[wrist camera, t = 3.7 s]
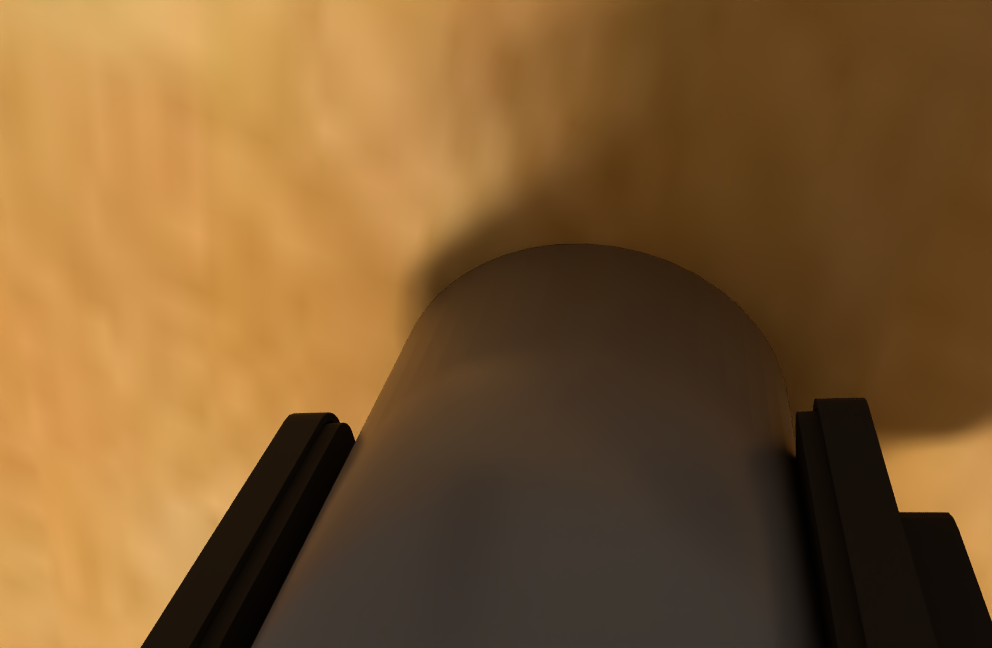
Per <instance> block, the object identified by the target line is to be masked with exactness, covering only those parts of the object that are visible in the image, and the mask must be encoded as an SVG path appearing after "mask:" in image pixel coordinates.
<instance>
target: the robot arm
mask: <svg viewBox="0 0 992 648" xmlns="http://www.w3.org/2000/svg"><path fill="white" fill-rule="evenodd" d="M354 444H355V439H354V436H353V433H352V430H351V428H350V426H349V425H348V424H346V423H340V422H339V420H338V418H337V417H336V416H335V415H334V414H333V413H294V414H291V415H289V416H288V417H287V418H286V419H285V421H284V422H283V424H282V426H281V427H280V429H279V430H278V432H277V433H276V435H275V437H274V438H273V440H272V441H271V443H270V444H269V446H268V448H267V449H266V451H265V452H264V454H263V456H262V457H261V459H260V460H259V462H258V463H257V465H256V467H255V468H254V470H253V471H252V473H251V474H250V476H249V478H248V479H247V481H246V482H245V484H244V485H243V487H242V489H241V490H240V492H239V493H238V495H237V496H236V498H235V500H234V501H233V503H232V504H231V506H230V508H229V509H228V511H227V512H226V514H225V515H224V517H223V519H222V520H221V522H220V523H219V525H218V526H217V528H216V530H215V531H214V533H213V534H212V536H211V537H210V539H209V541H208V542H207V544H206V545H205V547H204V549H203V550H202V552H201V553H200V555H199V556H198V558H197V560H196V561H195V563H194V564H193V566H192V567H191V569H190V571H189V572H188V574H187V575H186V577H185V578H184V580H183V582H182V583H181V585H180V586H179V588H178V590H177V591H176V593H175V594H174V596H173V597H172V599H171V601H170V602H169V604H168V605H167V607H166V608H165V610H164V612H163V613H162V615H161V616H160V618H159V619H158V621H157V623H156V624H155V626H154V627H153V629H152V631H151V632H150V634H149V635H148V637H147V638H146V640H145V642H144V643H143V645H142V646H141V648H251V647H252V645H253V643H254V641H255V639H256V637H257V635H258V633H259V631H260V629H261V627H262V625H263V623H264V621H265V619H266V617H267V615H268V613H269V611H270V609H271V607H272V605H273V603H274V601H275V600H276V598H277V596H278V594H279V592H280V590H281V588H282V586H283V584H284V582H285V580H286V578H287V576H288V574H289V572H290V570H291V568H292V566H293V564H294V562H295V560H296V558H297V556H298V554H299V552H300V550H301V548H302V546H303V544H304V542H305V540H306V538H307V536H308V535H309V533H310V531H311V529H312V527H313V525H314V523H315V521H316V519H317V517H318V515H319V513H320V511H321V509H322V507H323V505H324V503H325V501H326V499H327V497H328V495H329V493H330V491H331V489H332V487H333V485H334V483H335V481H336V479H337V477H338V475H339V473H340V471H341V470H342V468H343V466H344V464H345V462H346V460H347V458H348V456H349V454H350V452H351V450H352V448H353V446H354ZM796 464H797V470H798V476H799V483H800V489H801V495H802V502H803V508H804V514H805V521H806V527H807V533H808V540H809V546H810V552H811V559H812V565H813V571H814V578H815V584H816V590H817V597H818V603H819V609H820V616H821V622H822V628H823V635H824V641H825V647H826V648H992V621H991V618H990V615H989V612H988V610H987V607H986V604H985V601H984V599H983V596H982V593H981V590H980V587H979V585H978V582H977V579H976V576H975V574H974V571H973V568H972V565H971V562H970V560H969V557H968V554H967V551H966V549H965V546H964V543H963V540H962V537H961V535H960V532H959V529H958V527H957V525H956V523H955V520H954V518H953V517H952V516H951V515H950V514H949V513H943V512H899V511H898V507H897V504H896V500H895V497H894V493H893V490H892V486H891V483H890V479H889V476H888V473H887V469H886V466H885V462H884V459H883V455H882V452H881V448H880V445H879V441H878V438H877V434H876V431H875V427H874V424H873V420H872V417H871V413H870V410H869V406H868V403H867V401H866V399H865V398H833V399H815V400H814V405H813V411H807V412H796Z"/></svg>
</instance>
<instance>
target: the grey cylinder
mask: <svg viewBox="0 0 992 648" xmlns="http://www.w3.org/2000/svg"><path fill="white" fill-rule="evenodd" d="M251 648H826V647H825V641H824V635H823V628H822V622H821V616H820V609H819V603H818V597H817V590H816V584H815V578H814V571H813V565H812V559H811V552H810V546H809V540H808V533H807V527H806V521H805V514H804V508H803V502H802V495H801V489H800V483H799V476H798V470H797V464H796V445H795V439H794V433H793V426H792V420H791V414H790V408H789V402H788V395H787V390H786V386H785V382H784V379H783V375H782V371H781V368H780V366H779V364H778V361H777V359H776V357H775V355H774V353H773V350H772V348H771V346H770V345H769V343H768V342H767V340H766V339H765V337H764V336H763V334H762V333H761V331H760V330H759V328H758V327H757V326H756V324H755V323H754V322H753V321H752V320H751V319H750V318H749V316H748V315H747V314H746V313H745V312H744V311H743V310H742V309H741V308H740V307H739V306H738V305H737V304H736V303H735V302H733V301H732V300H731V299H730V298H729V297H728V296H726V295H725V294H724V293H723V292H722V291H721V290H719V289H718V288H716V287H715V286H713V285H712V284H710V283H708V282H707V281H705V280H704V279H702V278H701V277H699V276H698V275H696V274H694V273H692V272H690V271H688V270H686V269H684V268H682V267H680V266H678V265H675V264H673V263H671V262H668V261H666V260H663V259H660V258H657V257H654V256H651V255H648V254H645V253H642V252H637V251H633V250H628V249H624V248H619V247H613V246H603V245H593V244H557V245H550V246H543V247H535V248H529V249H526V250H522V251H518V252H514V253H511V254H507V255H504V256H501V257H499V258H497V259H494V260H492V261H489V262H487V263H484V264H482V265H480V266H478V267H477V268H475V269H473V270H471V271H470V272H468V273H466V274H464V275H463V276H461V277H460V278H458V279H457V280H456V281H454V282H453V283H452V284H451V285H449V286H448V287H447V288H446V289H444V290H443V291H442V292H441V293H440V294H439V295H438V296H437V297H436V298H435V299H434V300H433V301H432V303H431V304H430V305H429V306H428V307H427V308H426V309H425V311H424V312H423V314H422V315H421V317H420V318H419V320H418V321H417V323H416V324H415V326H414V328H413V330H412V332H411V334H410V336H409V338H408V340H407V342H406V343H405V345H404V347H403V349H402V351H401V353H400V355H399V357H398V359H397V361H396V363H395V365H394V367H393V369H392V371H391V373H390V375H389V377H388V379H387V381H386V383H385V385H384V387H383V389H382V391H381V393H380V395H379V397H378V399H377V401H376V403H375V405H374V407H373V408H372V410H371V412H370V414H369V416H368V418H367V420H366V422H365V424H364V426H363V428H362V430H361V432H360V434H359V436H358V438H357V440H356V442H355V444H354V446H353V448H352V450H351V452H350V454H349V456H348V458H347V460H346V462H345V464H344V466H343V468H342V470H341V471H340V473H339V475H338V477H337V479H336V481H335V483H334V485H333V487H332V489H331V491H330V493H329V495H328V497H327V499H326V501H325V503H324V505H323V507H322V509H321V511H320V513H319V515H318V517H317V519H316V521H315V523H314V525H313V527H312V529H311V531H310V533H309V535H308V536H307V538H306V540H305V542H304V544H303V546H302V548H301V550H300V552H299V554H298V556H297V558H296V560H295V562H294V564H293V566H292V568H291V570H290V572H289V574H288V576H287V578H286V580H285V582H284V584H283V586H282V588H281V590H280V592H279V594H278V596H277V598H276V600H275V601H274V603H273V605H272V607H271V609H270V611H269V613H268V615H267V617H266V619H265V621H264V623H263V625H262V627H261V629H260V631H259V633H258V635H257V637H256V639H255V641H254V643H253V645H252V647H251Z"/></svg>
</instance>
